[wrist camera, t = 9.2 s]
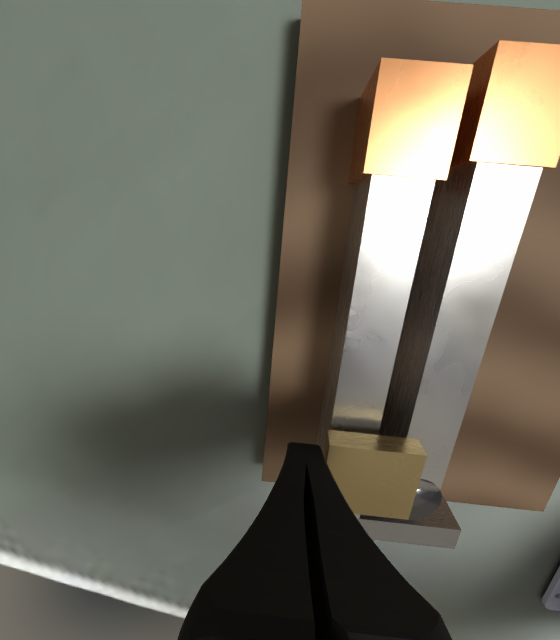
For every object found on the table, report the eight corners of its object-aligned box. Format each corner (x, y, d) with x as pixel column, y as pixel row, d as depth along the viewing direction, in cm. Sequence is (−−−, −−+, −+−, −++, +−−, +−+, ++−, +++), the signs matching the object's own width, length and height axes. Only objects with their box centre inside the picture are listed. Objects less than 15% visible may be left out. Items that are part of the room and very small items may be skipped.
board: (524, 489, 19) (543, 511, 17) (264, 461, 19) (261, 480, 18) (716, 49, 12) (773, 26, 10) (302, 17, 12) (303, -9, 11)
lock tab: (401, 500, 13) (408, 519, 12) (317, 491, 13) (318, 509, 12) (417, 439, 12) (427, 455, 11) (327, 429, 12) (329, 445, 11)
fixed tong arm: (428, 495, 18) (455, 550, 15) (305, 481, 18) (307, 533, 15) (547, 112, 12) (632, 76, 9) (360, 97, 12) (381, 57, 9)
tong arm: (414, 473, 17) (437, 524, 14) (366, 468, 17) (380, 518, 14) (520, 89, 11) (595, 47, 8) (448, 84, 11) (499, 40, 9)
